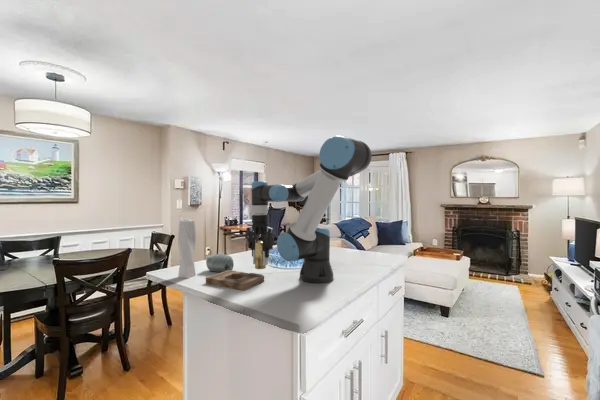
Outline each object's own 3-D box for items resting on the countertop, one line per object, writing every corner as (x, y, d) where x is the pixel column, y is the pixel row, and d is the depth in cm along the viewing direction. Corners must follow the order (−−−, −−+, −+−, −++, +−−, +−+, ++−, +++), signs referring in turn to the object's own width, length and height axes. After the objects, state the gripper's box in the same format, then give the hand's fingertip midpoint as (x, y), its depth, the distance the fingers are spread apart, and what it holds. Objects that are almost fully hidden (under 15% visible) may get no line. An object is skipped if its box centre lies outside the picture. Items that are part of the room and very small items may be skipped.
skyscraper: (173, 277, 130) (173, 215, 130) (184, 273, 138) (184, 214, 137) (188, 279, 128) (188, 215, 128) (199, 274, 135) (199, 214, 135)
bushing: (267, 267, 137) (267, 241, 137) (261, 269, 132) (261, 243, 132) (259, 266, 139) (258, 241, 139) (252, 268, 134) (252, 242, 134)
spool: (239, 262, 146) (230, 247, 142) (231, 275, 137) (222, 259, 134) (218, 266, 150) (208, 251, 147) (209, 279, 142) (199, 264, 139)
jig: (264, 281, 125) (264, 274, 125) (243, 290, 113) (243, 282, 113) (228, 275, 134) (228, 268, 134) (205, 283, 122) (205, 276, 122)
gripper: (280, 214, 135) (281, 264, 135) (249, 213, 143) (249, 260, 143) (271, 215, 128) (272, 267, 128) (239, 214, 136) (240, 264, 136)
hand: (260, 264), depth 136 cm, fingers closed on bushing, 5 cm apart
